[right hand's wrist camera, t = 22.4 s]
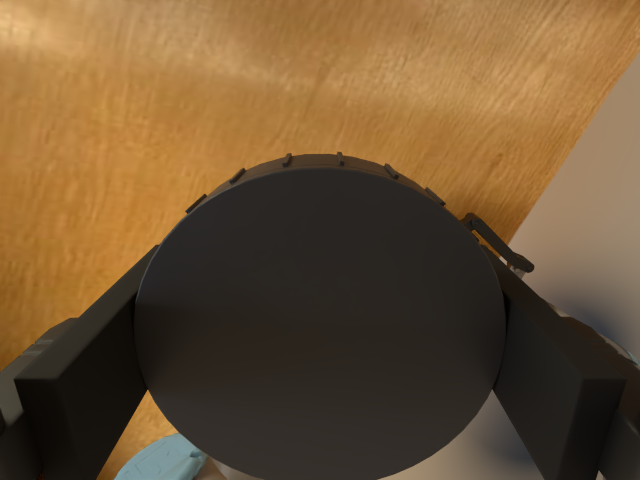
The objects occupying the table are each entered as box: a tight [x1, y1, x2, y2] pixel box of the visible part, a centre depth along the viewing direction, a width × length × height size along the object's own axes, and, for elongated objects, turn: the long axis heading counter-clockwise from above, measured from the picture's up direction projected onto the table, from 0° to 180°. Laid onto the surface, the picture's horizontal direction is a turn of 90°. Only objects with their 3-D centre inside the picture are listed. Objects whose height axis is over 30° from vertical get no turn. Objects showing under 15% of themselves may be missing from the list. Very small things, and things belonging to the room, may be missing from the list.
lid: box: [133, 152, 506, 480], centre depth 11 cm, size 9×9×2 cm
